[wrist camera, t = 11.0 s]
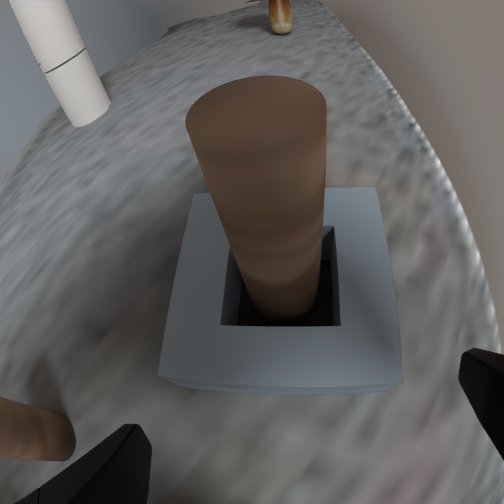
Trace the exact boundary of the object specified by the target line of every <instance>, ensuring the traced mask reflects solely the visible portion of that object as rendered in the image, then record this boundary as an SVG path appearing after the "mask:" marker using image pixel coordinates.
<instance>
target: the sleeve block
mask: <svg viewBox="0 0 504 504" xmlns="http://www.w3.org/2000/svg"><path fill="white" fill-rule="evenodd" d="M323 260H330V267H331V286H332V312H333V326H318V327H264V326H237V325H238V314H239V304H240V293H241V283H242V275H241V273H240V270H239V268H238V265H237V262H236V260H235V257H234V255H233V252H232V249H231V247H230V244H229V241H228V239H227V236H226V234H225V231H224V228H223V226H222V223H221V220H220V218H219V215H218V212H217V210H216V207H215V204H214V202H213V199H212V196H211V194H210V193H197V194H194V195H193V199H192V203H191V207H190V211H189V215H188V219H187V224H186V228H185V232H184V237H183V241H182V245H181V250H180V255H179V259H178V264H177V269H176V273H175V278H174V283H173V288H172V293H171V299H170V304H169V309H168V315H167V320H166V326H165V332H164V337H163V343H162V349H161V356H160V362H159V369H158V375H157V377H160V378H162V379H165V380H167V381H170V382H172V383H175V384H177V385H180V386H182V387H186V388H194V389H203V390H213V391H224V392H237V393H253V394H278V395H330V394H354V393H370V392H382V391H385V390H387V389H389V388H391V387H393V386H395V385H398V384H400V383H402V382H403V380H402V360H401V345H400V333H399V323H398V313H397V305H396V297H395V289H394V282H393V275H392V269H391V262H390V256H389V251H388V245H387V240H386V235H385V229H384V224H383V220H382V215H381V210H380V206H379V201H378V197H377V193H376V189H375V188H325V198H324V217H323V233H322V248H321V261H323Z"/></svg>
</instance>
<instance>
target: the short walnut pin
mask: <svg viewBox="0 0 504 504" xmlns="http://www.w3.org/2000/svg"><path fill="white" fill-rule="evenodd" d="M75 445H76V439H75V433H74V430H73V427H72V425H71V423H70V422H69V420H68V419H67V418H66V417H65V416H64V415H63V414H61V413H58V412H54V411H50V410H45V409H41V408H37V407H33V406H29V405H25V404H22V403H18V402H15V401H11V400H8V399H5V398H1V397H0V456H1V457H8V458H17V459H28V460H44V461H65V460H68V459H69V458H70V457H71V456H72V454H73V453H74V450H75Z"/></svg>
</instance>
